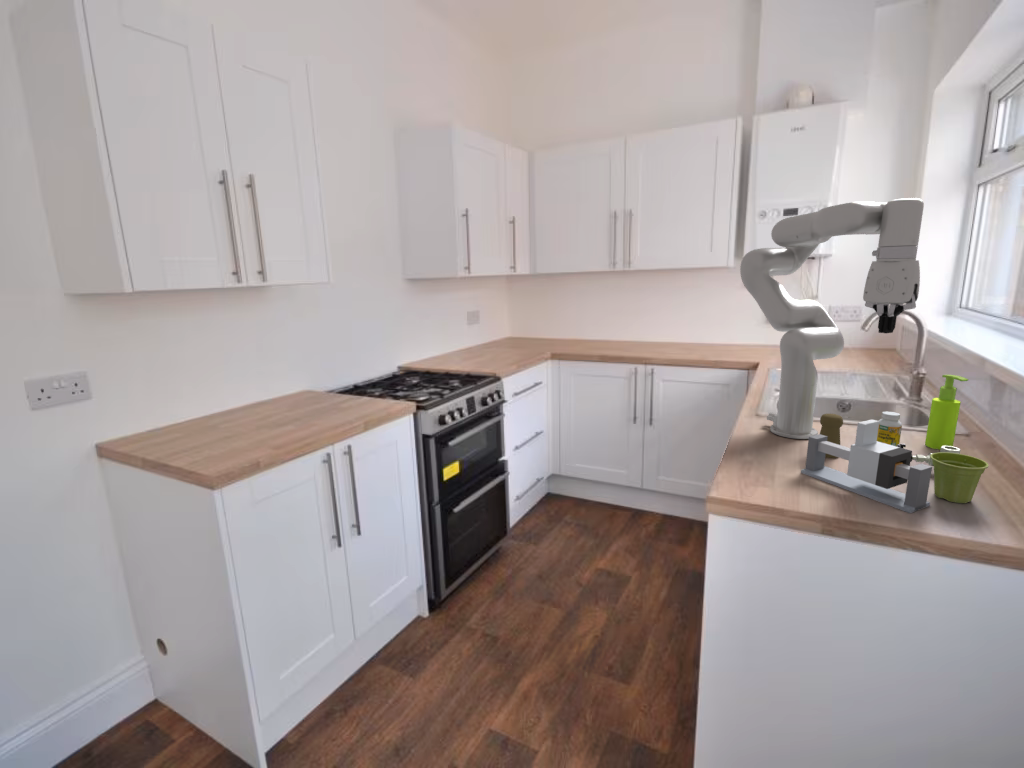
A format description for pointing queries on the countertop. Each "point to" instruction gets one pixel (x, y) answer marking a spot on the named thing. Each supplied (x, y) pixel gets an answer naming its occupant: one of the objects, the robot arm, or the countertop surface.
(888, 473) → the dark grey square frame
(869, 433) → the sleeve
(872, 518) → the countertop surface
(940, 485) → the plant pot
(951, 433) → the soap dispenser
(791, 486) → the countertop surface
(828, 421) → the cork
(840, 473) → the rail stand
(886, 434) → the supplement bottle
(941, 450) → the valve
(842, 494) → the countertop surface
